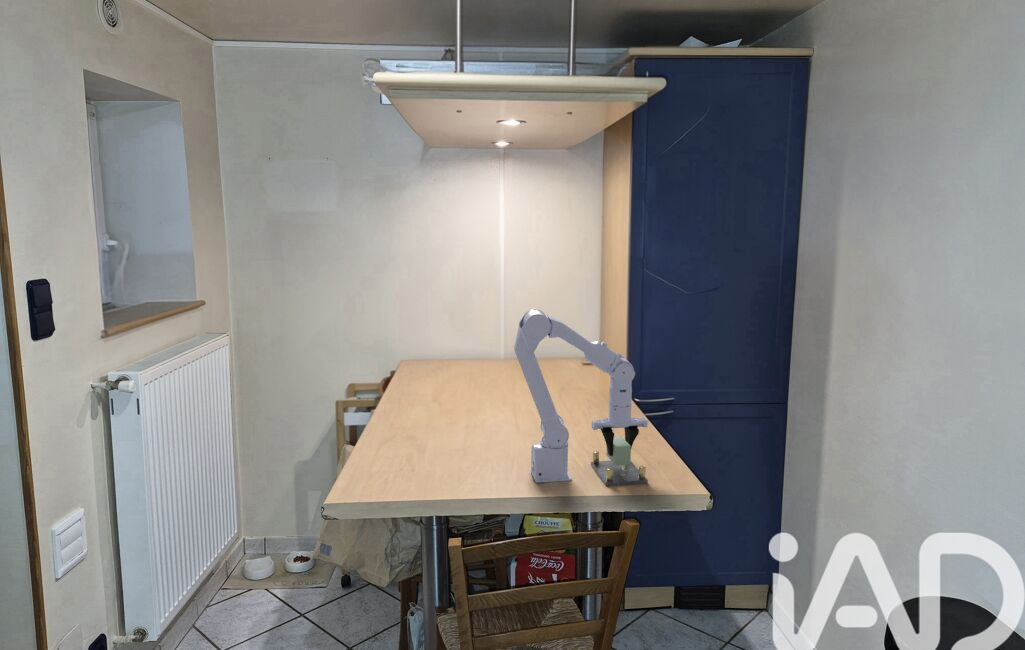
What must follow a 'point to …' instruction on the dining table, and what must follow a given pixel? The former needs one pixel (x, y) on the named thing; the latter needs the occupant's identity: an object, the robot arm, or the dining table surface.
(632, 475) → the plate
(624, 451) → the board block
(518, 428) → the dining table surface
